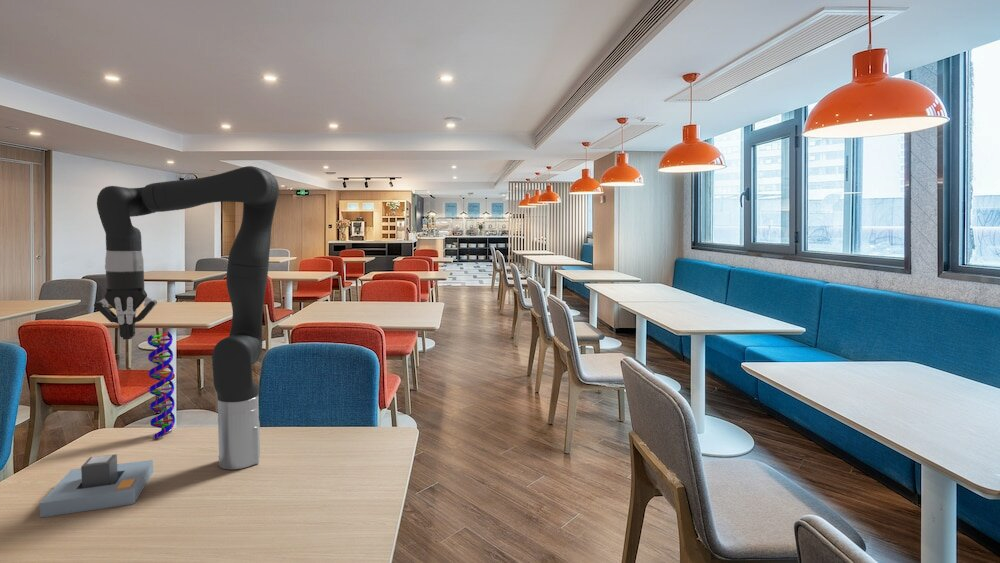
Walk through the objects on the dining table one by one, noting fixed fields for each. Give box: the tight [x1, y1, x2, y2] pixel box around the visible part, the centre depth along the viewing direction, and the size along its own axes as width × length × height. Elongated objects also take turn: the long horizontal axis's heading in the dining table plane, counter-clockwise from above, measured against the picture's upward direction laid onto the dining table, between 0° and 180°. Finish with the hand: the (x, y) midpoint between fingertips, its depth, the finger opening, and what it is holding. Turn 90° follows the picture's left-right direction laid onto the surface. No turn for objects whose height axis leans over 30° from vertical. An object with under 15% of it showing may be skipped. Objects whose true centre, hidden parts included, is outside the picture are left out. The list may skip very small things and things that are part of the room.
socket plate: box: [38, 459, 154, 518], centre depth 113 cm, size 16×16×3 cm
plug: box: [80, 453, 118, 489], centre depth 113 cm, size 5×5×7 cm
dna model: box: [147, 331, 176, 440], centre depth 144 cm, size 6×6×30 cm
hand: (127, 338), depth 125 cm, fingers closed
